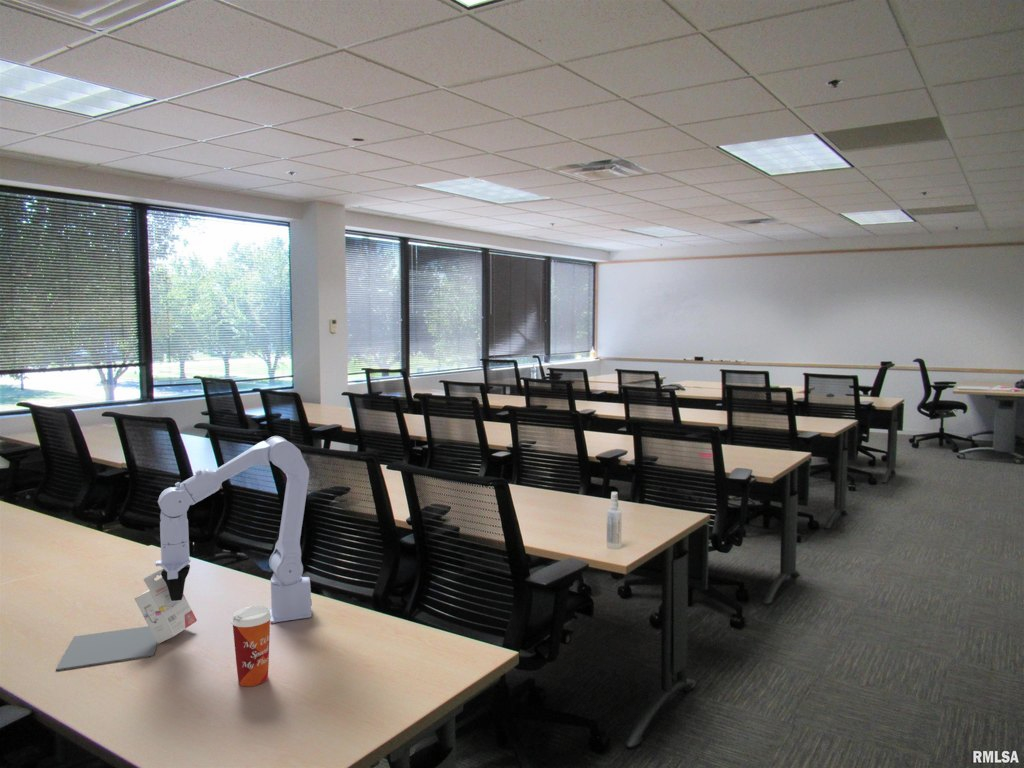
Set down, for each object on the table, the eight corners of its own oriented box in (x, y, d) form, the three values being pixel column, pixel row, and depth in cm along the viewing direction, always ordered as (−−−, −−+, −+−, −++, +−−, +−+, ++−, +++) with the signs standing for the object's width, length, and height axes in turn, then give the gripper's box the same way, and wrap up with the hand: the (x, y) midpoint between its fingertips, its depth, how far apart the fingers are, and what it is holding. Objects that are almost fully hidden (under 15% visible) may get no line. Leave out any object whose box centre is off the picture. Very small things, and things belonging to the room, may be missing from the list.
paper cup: (249, 693, 132) (247, 623, 130) (224, 682, 136) (222, 614, 135) (282, 676, 138) (280, 609, 137) (257, 666, 142) (255, 601, 141)
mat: (162, 625, 161) (162, 624, 161) (153, 656, 146) (153, 654, 146) (74, 638, 155) (74, 636, 155) (55, 671, 140) (55, 669, 140)
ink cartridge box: (181, 628, 160) (153, 573, 160) (198, 620, 159) (170, 564, 159) (156, 645, 152) (126, 586, 152) (173, 636, 151) (143, 577, 151)
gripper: (158, 533, 159) (161, 590, 160) (150, 552, 145) (153, 614, 146) (192, 530, 161) (193, 586, 162) (187, 549, 148) (189, 609, 149)
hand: (176, 599), depth 155 cm, fingers closed
